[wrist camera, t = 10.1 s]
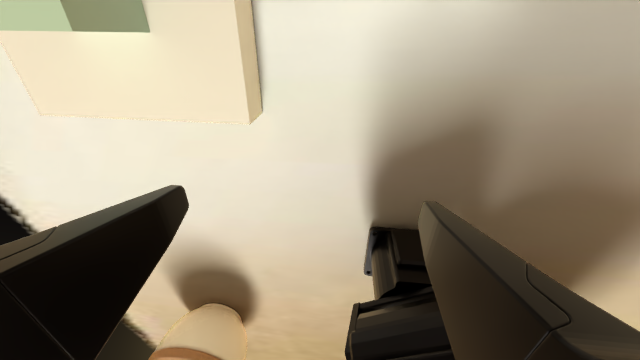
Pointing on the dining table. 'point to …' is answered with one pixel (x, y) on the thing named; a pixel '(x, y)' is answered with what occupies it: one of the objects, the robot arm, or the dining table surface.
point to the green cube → (73, 15)
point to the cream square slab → (147, 66)
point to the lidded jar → (205, 336)
